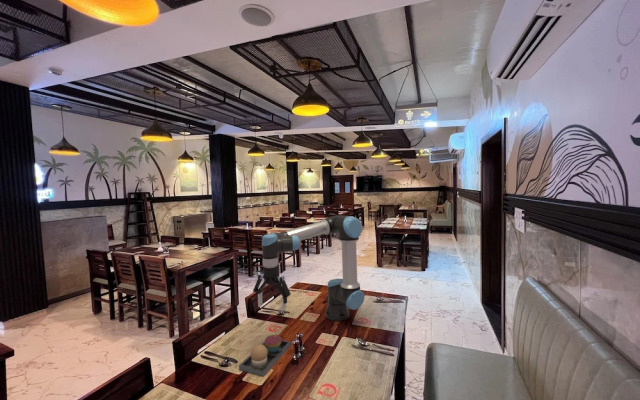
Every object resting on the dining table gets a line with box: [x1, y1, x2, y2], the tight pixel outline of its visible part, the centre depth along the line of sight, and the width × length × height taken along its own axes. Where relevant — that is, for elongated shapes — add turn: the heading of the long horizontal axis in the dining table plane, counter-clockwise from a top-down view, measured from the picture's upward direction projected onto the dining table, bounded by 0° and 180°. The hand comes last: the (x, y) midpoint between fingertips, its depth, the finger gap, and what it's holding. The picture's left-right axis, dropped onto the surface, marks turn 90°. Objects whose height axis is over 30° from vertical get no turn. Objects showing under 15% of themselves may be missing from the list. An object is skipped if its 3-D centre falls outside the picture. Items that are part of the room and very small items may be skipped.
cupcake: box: [264, 327, 283, 352], centre depth 139 cm, size 9×8×12 cm
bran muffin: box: [250, 343, 268, 369], centre depth 128 cm, size 8×8×9 cm
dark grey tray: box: [238, 339, 292, 377], centre depth 134 cm, size 13×25×3 cm, turn 158°
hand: (272, 307), depth 139 cm, fingers open, 13 cm apart
